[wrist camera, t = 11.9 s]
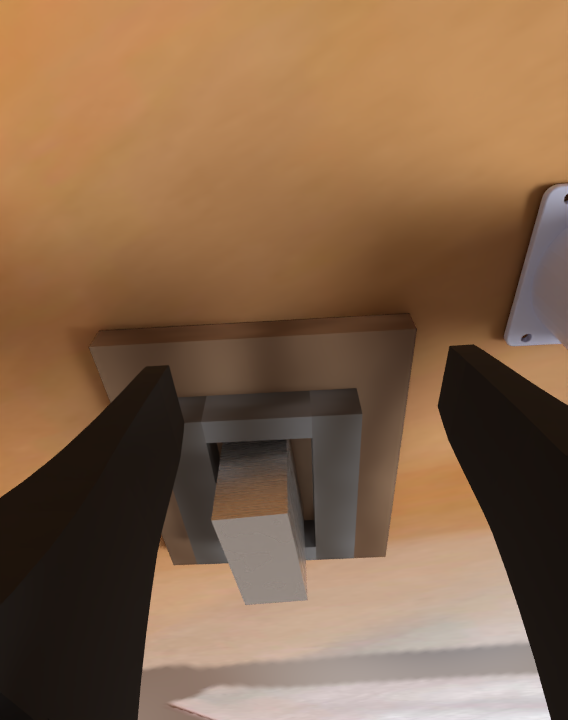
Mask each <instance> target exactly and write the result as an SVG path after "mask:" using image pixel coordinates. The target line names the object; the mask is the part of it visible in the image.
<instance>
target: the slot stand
mask: <svg viewBox="0 0 568 720" xmlns="http://www.w3.org/2000/svg"><path fill="white" fill-rule="evenodd" d="M416 331H417V328H416V326H415V324H414V322H413V320H412V318H411V316H410V314H409V313H408V314H390V315H372V316H355V317H337V318H319V319H301V320H284V321H266V322H248V323H230V324H212V325H195V326H177V327H159V328H141V329H124V330H106V331H99V332H98V333H97V335H96V337H95V338H94V340H93V341H92V343H91V344H90V346H89V349H90V351H91V354H92V356H93V359H94V362H95V364H96V367H97V369H98V372H99V374H100V377H101V380H102V382H103V385H104V387H105V390H106V392H107V395H108V398H109V400H110V403H111V402H112V401H113V400H114V399H115V398H116V397H117V396H118V395H119V394H120V393H121V392H122V391H123V390H124V389H125V388H126V386H127V385H128V384H129V383H130V382H131V381H132V380H133V379H134V378H135V377H136V376H137V375H138V374H139V373H140V372H141V371H142V370H143V369H144V368H145V367H146V366H161V365H169V367H170V371H171V374H172V378H173V382H174V386H175V389H176V393H177V397H178V400H179V404H180V408H181V412H182V415H183V419H184V433H183V443H182V450H181V458H180V462H179V466H178V470H177V474H176V478H175V482H174V486H173V490H172V494H171V498H170V502H169V506H168V510H167V514H166V518H165V522H164V526H163V529H162V533H161V534H162V536H163V539H164V542H165V544H166V547H167V549H168V552H169V554H170V557H171V560H172V562H173V565H191V564H221V563H228V561H227V558H226V556H225V553H224V551H223V548H222V546H221V543H220V541H219V539H218V536H217V534H216V531H215V529H214V526H213V524H212V521H211V519H212V512H213V505H214V498H215V491H216V484H217V478H218V471H219V464H220V457H221V450H222V443H223V442H240V441H261V440H281V439H290V443H291V448H292V453H293V458H294V463H295V468H296V474H297V479H298V484H299V489H300V494H301V499H302V504H303V517H304V537H305V557H306V560H321V559H346V558H366V557H385V556H386V549H387V542H388V534H389V527H390V520H391V513H392V505H393V498H394V491H395V484H396V476H397V469H398V462H399V455H400V447H401V440H402V433H403V425H404V418H405V411H406V404H407V396H408V389H409V382H410V375H411V367H412V360H413V353H414V346H415V338H416Z"/></svg>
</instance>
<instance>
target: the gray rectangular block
mask: <svg viewBox="0 0 568 720" xmlns="http://www.w3.org/2000/svg"><path fill="white" fill-rule="evenodd" d="M211 521H212V524H213V526H214V529H215V531H216V534H217V536H218V539H219V541H220V543H221V546H222V548H223V551H224V553H225V556H226V558H227V561H228V563H229V566H230V568H231V571H232V573H233V575H234V578H235V580H236V583H237V585H238V588H239V590H240V593H241V595H242V598H243V600H244V602H245V605H252V604H264V603H277V602H290V601H303V600H308V597H307V577H306V557H305V537H304V517H303V504H302V499H301V494H300V489H299V484H298V479H297V474H296V468H295V463H294V458H293V453H292V448H291V443H290V439H281V440H261V441H240V442H223V443H222V450H221V457H220V464H219V471H218V478H217V484H216V491H215V498H214V505H213V512H212V519H211Z"/></svg>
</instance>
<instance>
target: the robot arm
mask: <svg viewBox="0 0 568 720" xmlns="http://www.w3.org/2000/svg"><path fill="white" fill-rule="evenodd" d="M567 194H568V183H567V184H556V185H553V186H551V187H550V188H548V189H547V190H546V191H545V193H544V195H543V197H542V200H541V204H540V208H539V211H538V215H537V218H536V222H535V226H534V229H533V233H532V236H531V240H530V244H529V247H528V251H527V254H526V258H525V262H524V265H523V269H522V272H521V276H520V280H519V283H518V287H517V290H516V294H515V298H514V301H513V305H512V308H511V312H510V316H509V319H508V323H507V326H506V330H505V334H504V340H505V341H506V343H507V344H508V345H510V346H527V345H545V344H563V345H564V346H565V347H566V348H567V349H568V200H567V201H564V198H565V196H566V195H567ZM525 334H528V335H527V336H526V337H525V338H522V336H524V335H525ZM438 409H439V412H440V415H441V419H442V422H443V425H444V428H445V431H446V434H447V437H448V440H449V442H450V444H451V447H452V449H453V451H454V453H455V455H456V457H457V459H458V461H459V463H460V465H461V468H462V470H463V472H464V474H465V476H466V478H467V480H468V482H469V484H470V486H471V488H472V490H473V492H474V494H475V496H476V498H477V500H478V502H479V504H480V506H481V509H482V511H483V513H484V515H485V517H486V519H487V522H488V524H489V526H490V528H491V531H492V533H493V536H494V539H495V541H496V544H497V547H498V550H499V552H500V555H501V558H502V561H503V563H504V566H505V569H506V572H507V575H508V578H509V581H510V584H511V587H512V590H513V593H514V596H515V599H516V602H517V605H518V608H519V611H520V614H521V617H522V620H523V624H524V627H525V630H526V633H527V637H528V640H529V643H530V646H531V649H532V653H533V656H534V659H535V663H536V666H537V670H538V674H539V677H540V681H541V684H542V688H543V692H544V695H545V699H546V702H547V706H548V710H549V713H550V717H551V720H568V405H566V404H565V403H563V402H561V401H560V400H558V399H557V398H555V397H553V396H552V395H550V394H548V393H547V392H545V391H544V390H542V389H541V388H539V387H538V386H536V385H534V384H533V383H531V382H530V381H528V380H527V379H525V378H524V377H522V376H521V375H519V374H518V373H516V372H515V371H513V370H512V369H510V368H509V367H508V366H506V365H505V364H503V363H502V362H500V361H499V360H497V359H496V358H494V357H493V356H491V355H490V354H488V353H487V352H485V351H484V350H482V349H480V348H479V347H477V346H475V345H474V344H473V345H458V346H449V351H448V356H447V361H446V367H445V372H444V377H443V382H442V387H441V392H440V397H439V402H438ZM183 433H184V419H183V415H182V412H181V408H180V404H179V400H178V397H177V393H176V389H175V386H174V382H173V378H172V374H171V371H170V367H169V365H161V366H146V367H145V368H144V369H143V370H142V371H141V372H140V373H139V374H138V375H137V376H136V377H135V378H134V379H133V380H132V381H131V382H130V383H129V384H128V385H127V386H126V388H125V389H124V390H123V391H122V392H121V393H120V394H119V395H118V396H117V397H116V398H115V399H114V400H113V401H112V402H111V403H110V404H109V405H108V406H107V407H106V409H105V410H104V411H103V412H102V413H101V414H100V415H99V416H98V417H97V418H96V419H95V420H94V421H93V422H92V423H90V424H89V425H88V426H87V427H86V428H85V429H84V430H83V431H82V432H81V433H80V434H79V435H78V436H77V437H76V438H75V439H73V440H72V441H71V442H70V443H69V444H68V445H67V446H66V447H65V448H64V449H63V450H61V451H60V452H59V453H58V454H57V455H56V456H54V457H53V458H52V459H51V460H50V461H48V462H47V463H46V464H45V465H44V466H42V467H41V468H40V469H38V470H37V471H36V472H35V473H33V474H32V475H31V476H30V477H28V478H27V479H26V480H24V481H23V482H22V483H20V484H19V485H18V486H16V487H15V488H13V489H12V490H11V491H9V492H8V493H6V494H5V495H3V496H2V497H1V498H0V720H138V709H139V697H140V686H141V675H142V667H143V658H144V649H145V639H146V631H147V623H148V615H149V607H150V600H151V592H152V585H153V578H154V572H155V565H156V558H157V552H158V547H159V542H160V538H161V533H162V529H163V526H164V522H165V518H166V514H167V510H168V506H169V502H170V498H171V494H172V490H173V486H174V482H175V478H176V474H177V470H178V466H179V462H180V458H181V450H182V443H183Z"/></svg>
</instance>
